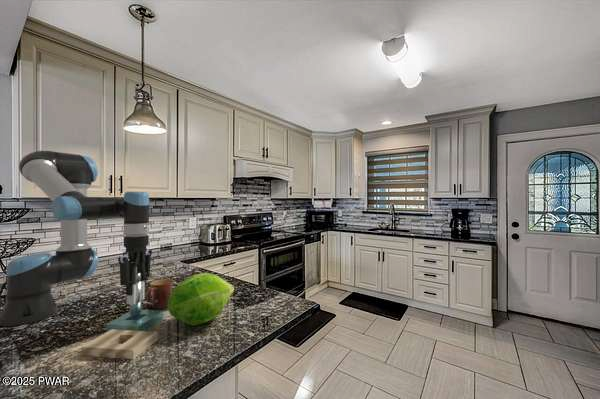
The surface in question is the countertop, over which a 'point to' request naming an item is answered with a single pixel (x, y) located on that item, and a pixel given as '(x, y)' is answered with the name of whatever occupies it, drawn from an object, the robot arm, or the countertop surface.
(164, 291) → the mug
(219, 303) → the lettuce
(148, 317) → the socket
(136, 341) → the wooden square-hole plate
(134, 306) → the metal cylinder rod
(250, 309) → the countertop surface
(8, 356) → the countertop surface
